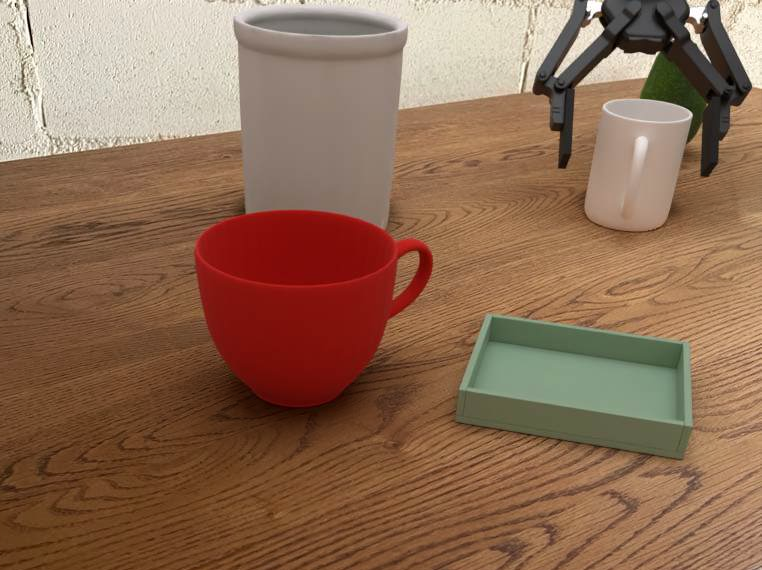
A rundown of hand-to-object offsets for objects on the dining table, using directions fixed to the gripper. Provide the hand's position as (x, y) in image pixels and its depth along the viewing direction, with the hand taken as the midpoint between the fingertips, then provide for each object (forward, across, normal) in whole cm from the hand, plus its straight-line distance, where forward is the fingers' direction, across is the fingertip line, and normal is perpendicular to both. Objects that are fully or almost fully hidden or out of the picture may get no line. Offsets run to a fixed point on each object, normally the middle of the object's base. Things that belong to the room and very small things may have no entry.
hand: (636, 166), depth 88 cm
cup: (+4, 0, -5) cm, 6 cm away
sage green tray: (+28, +9, +20) cm, 36 cm away
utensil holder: (+7, +30, -2) cm, 31 cm away
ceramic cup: (+28, +26, +20) cm, 43 cm away
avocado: (-15, -9, -23) cm, 29 cm away
